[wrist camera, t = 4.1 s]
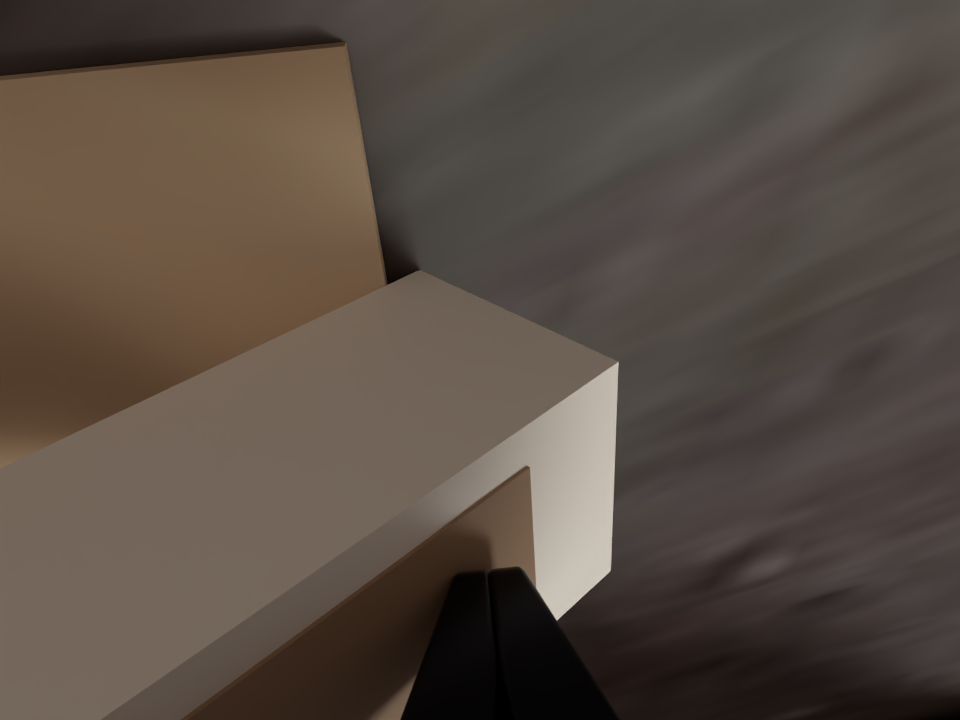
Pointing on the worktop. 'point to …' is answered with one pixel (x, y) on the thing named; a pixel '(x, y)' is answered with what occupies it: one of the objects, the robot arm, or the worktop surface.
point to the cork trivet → (170, 225)
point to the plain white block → (304, 515)
